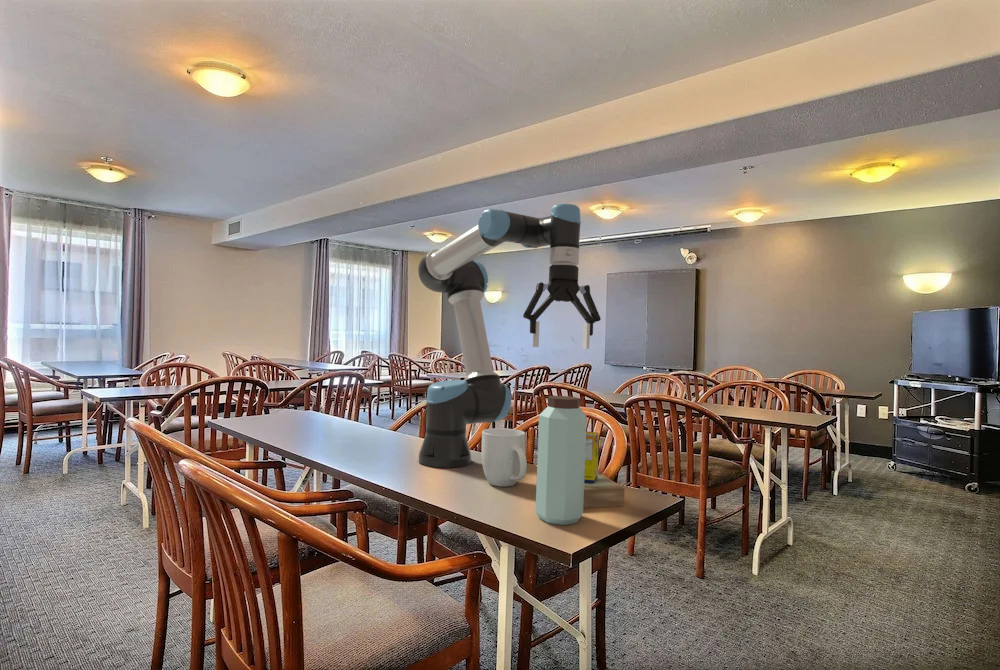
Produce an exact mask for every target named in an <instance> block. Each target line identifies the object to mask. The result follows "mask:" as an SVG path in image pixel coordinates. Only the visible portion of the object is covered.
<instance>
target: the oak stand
mask: <svg viewBox="0 0 1000 670" xmlns="http://www.w3.org/2000/svg"><path fill="white" fill-rule="evenodd" d="M624 501H625V487H624V486H622V485H620V484H618V483H617V482H615V481H613V480H612V479H610V478H609V477H608V476H606V475H604V474H602V473H601V472H598V477H597V479H596V481H595V482H594V484H593V483H586V482H584V503H583V509H584V508H610V507H612V508H613V507H624V506H625V502H624Z"/></svg>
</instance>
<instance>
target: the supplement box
mask: <svg viewBox="0 0 1000 670" xmlns="http://www.w3.org/2000/svg"><path fill="white" fill-rule="evenodd" d="M599 433H600V432H596V431H595V432H594V431H586V448H585V475H584V482H586V483H593V484H594V482H595V481H596V479H597V477H598V473H599V472H598V470H599V469H598V468H599V440H600V439H599V438H600V437H599V436H600V435H599Z"/></svg>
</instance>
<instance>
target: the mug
mask: <svg viewBox="0 0 1000 670" xmlns="http://www.w3.org/2000/svg"><path fill="white" fill-rule="evenodd" d="M481 464H482V469H483V474H484V477H485V479H486V480H487V482H488V484H490V485H491V486H494V487H504V488H505V487H513V486H514V485H516V483H517V481H520V480H522V479H524V478H525V476H526V473H527V466H528V465H527V457H526V433H525V431H524V430H520V429H515V428H503V427H501V428H499V427H498V428H497V427H496V428H495V427H494V428H487V429H486V428H485V429H483V430H482V432H481Z"/></svg>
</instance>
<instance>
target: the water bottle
mask: <svg viewBox="0 0 1000 670" xmlns="http://www.w3.org/2000/svg"><path fill="white" fill-rule="evenodd" d="M580 406H581V405H580V397H577V396H571V395H570V396H569V395H568V396H567V395H549V396H547V407H545V409H544V410H542V411H541V413H540V414H539V415H538V432H537V433H538V434H537V436H538V438H537V440H538V441H537V458H536V459H537V462H536V463H537V464H536V465H537V467H536V490H535V493H536V494H535V513H536V515H537V516H538V518H539V519H540V520H543V521H544V522H545V523H547V524H552V525H560V526H561V525H562V526H566V525H567V526H568V525H573V524H577V523H578V521H579V520H580V519H581V517H582V515H583V514H584V508H583V503H584V475H585V448H586V432H587V420H588V419H587V415H586V413H585V412H584V411H583V410H582V408H581V407H580Z"/></svg>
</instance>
